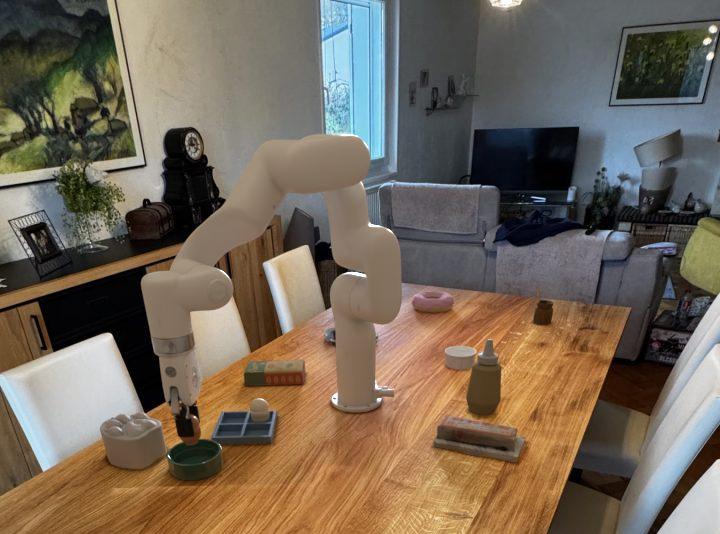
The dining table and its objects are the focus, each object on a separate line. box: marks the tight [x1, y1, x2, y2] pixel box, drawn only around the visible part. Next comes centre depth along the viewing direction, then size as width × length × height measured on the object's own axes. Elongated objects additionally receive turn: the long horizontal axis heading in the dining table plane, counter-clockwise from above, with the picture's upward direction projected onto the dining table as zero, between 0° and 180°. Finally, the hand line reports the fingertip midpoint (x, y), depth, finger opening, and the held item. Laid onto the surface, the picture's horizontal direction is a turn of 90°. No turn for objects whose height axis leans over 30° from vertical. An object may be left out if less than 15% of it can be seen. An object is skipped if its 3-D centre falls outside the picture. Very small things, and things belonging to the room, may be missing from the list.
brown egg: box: [179, 414, 202, 445], centre depth 114 cm, size 4×4×6 cm
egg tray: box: [210, 409, 278, 445], centre depth 132 cm, size 13×13×2 cm
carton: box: [243, 359, 306, 387], centre depth 157 cm, size 8×16×4 cm, turn 89°
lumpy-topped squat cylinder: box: [99, 411, 168, 470], centre depth 122 cm, size 10×13×9 cm
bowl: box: [165, 438, 225, 481], centre depth 118 cm, size 11×11×4 cm
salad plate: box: [323, 326, 379, 347], centre depth 185 cm, size 19×18×5 cm
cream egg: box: [249, 397, 270, 423], centre depth 134 cm, size 4×4×6 cm
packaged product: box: [432, 415, 526, 464], centre depth 123 cm, size 18×5×10 cm
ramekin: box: [444, 345, 478, 371], centre depth 162 cm, size 9×9×4 cm
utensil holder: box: [532, 286, 557, 326], centre depth 190 cm, size 6×6×12 cm
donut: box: [410, 290, 455, 314], centre depth 210 cm, size 16×15×5 cm
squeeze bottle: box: [465, 338, 502, 417], centre depth 133 cm, size 8×8×18 cm
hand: (189, 429), depth 114 cm, fingers closed on brown egg, 4 cm apart
